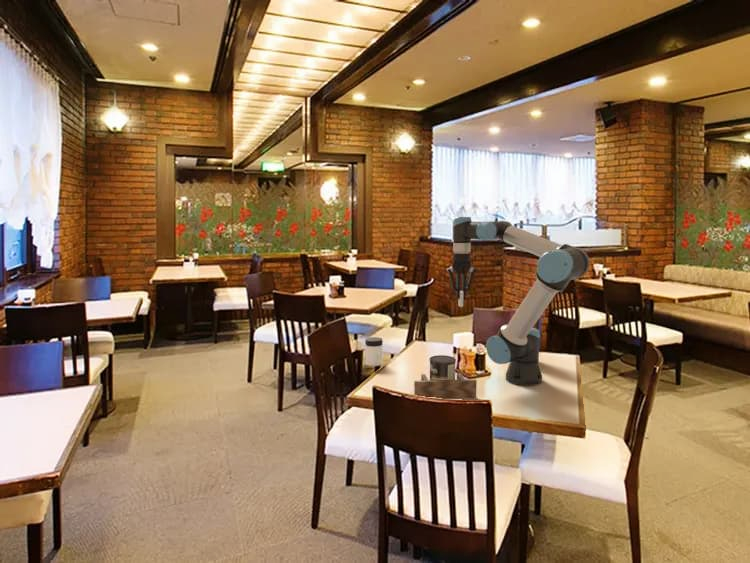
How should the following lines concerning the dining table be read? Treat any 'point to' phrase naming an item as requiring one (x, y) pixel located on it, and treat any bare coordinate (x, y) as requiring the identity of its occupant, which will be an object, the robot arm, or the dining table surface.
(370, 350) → the jar
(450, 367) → the coffee can
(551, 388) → the dining table surface
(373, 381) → the dining table surface
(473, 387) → the walnut dock
